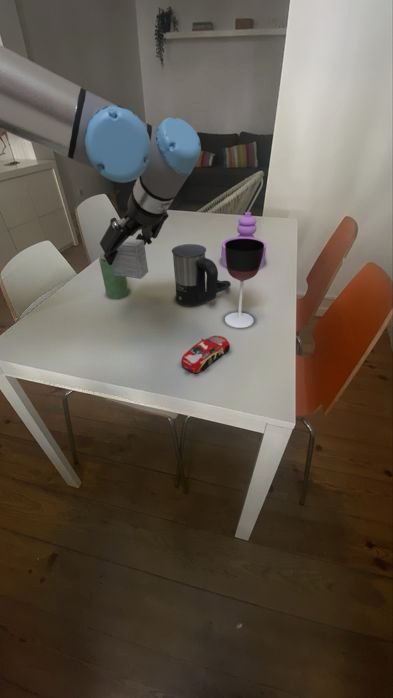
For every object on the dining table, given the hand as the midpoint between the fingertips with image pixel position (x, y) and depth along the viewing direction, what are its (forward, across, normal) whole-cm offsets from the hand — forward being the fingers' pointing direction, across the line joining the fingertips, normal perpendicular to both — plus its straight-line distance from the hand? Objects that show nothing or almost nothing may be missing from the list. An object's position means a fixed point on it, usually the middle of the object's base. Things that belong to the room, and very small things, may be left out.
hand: (121, 255), depth 82 cm
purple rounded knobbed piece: (+11, +50, -10) cm, 52 cm away
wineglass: (-9, +17, -30) cm, 35 cm away
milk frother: (+3, +19, -18) cm, 26 cm away
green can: (+16, +1, -4) cm, 17 cm away
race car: (-12, 0, -33) cm, 36 cm away
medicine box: (+1, 0, -6) cm, 6 cm away
